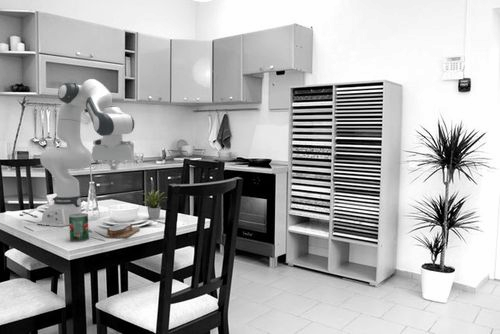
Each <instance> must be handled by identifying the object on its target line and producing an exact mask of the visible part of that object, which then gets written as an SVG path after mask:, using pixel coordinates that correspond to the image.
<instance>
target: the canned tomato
mask: <svg viewBox="0 0 500 334" xmlns="http://www.w3.org/2000/svg"><path fill="white" fill-rule="evenodd" d="M68 226H69V241H70V242H75V243H78V242H84V241H85V242H86V241H88V240H89V239H90V237H89V236H90V235H89V233H90V231H89V215H88V213H78V214H72V215H69V225H68Z"/></svg>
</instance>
